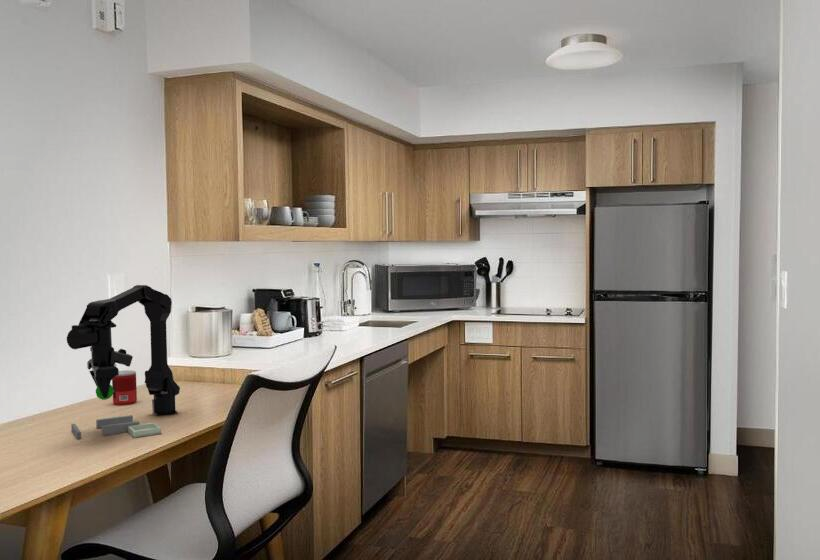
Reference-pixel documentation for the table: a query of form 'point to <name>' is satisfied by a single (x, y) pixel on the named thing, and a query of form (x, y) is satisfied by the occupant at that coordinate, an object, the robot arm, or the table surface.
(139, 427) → the dish
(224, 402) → the table surface
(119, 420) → the channel
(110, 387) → the polyhedron
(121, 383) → the canned food
